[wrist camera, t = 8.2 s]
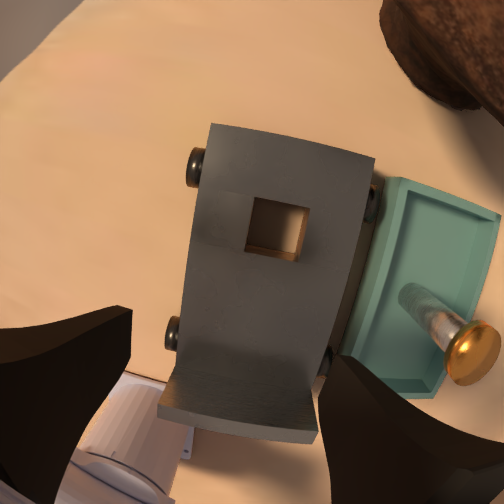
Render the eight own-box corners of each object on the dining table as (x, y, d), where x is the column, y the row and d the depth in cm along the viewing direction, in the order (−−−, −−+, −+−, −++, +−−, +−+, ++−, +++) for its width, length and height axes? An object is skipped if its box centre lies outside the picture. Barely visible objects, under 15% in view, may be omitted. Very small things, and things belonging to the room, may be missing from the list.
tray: (422, 382, 22) (433, 398, 19) (328, 375, 22) (334, 395, 19) (481, 211, 18) (501, 215, 16) (385, 177, 18) (401, 176, 16)
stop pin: (420, 318, 20) (483, 384, 11) (384, 314, 20) (442, 387, 11) (433, 277, 19) (509, 329, 10) (397, 271, 19) (469, 327, 10)
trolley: (314, 379, 22) (328, 445, 15) (171, 353, 22) (140, 412, 15) (373, 165, 18) (425, 159, 11) (204, 129, 18) (171, 103, 11)
